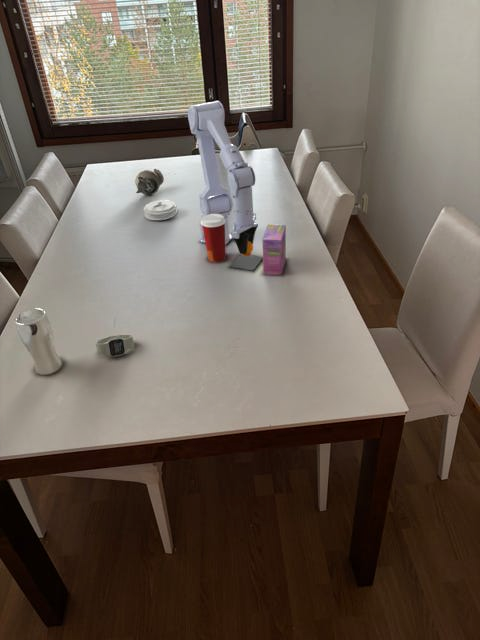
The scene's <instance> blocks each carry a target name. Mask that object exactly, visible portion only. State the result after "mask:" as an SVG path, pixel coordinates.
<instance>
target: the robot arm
mask: <svg viewBox="0 0 480 640" xmlns="http://www.w3.org/2000/svg"><path fill="white" fill-rule="evenodd" d="M225 116H226V113H225V108H224V105H223V104H222V103H221V101H220V100H215V101H211V102H205V103H199V104H194V105H193V104H191V105H190V106H189V107H188V111H187V119H188V124H189V129H190V133H191V134H192V135H194V136H195V137H196V140H197V146H198V152H199V157H200V163H201V167H202V173H203V177H204V183H205V188H204V189H203V190H202V192H200V193H199V209H200V212H201V214H202V215H201V216H200V219H199V230H200V239H201V240H200V243H205V238H204V232H203V227H202V225H201V223H200V222H201V221H202V218H203V217H204V216H206V215H209V214H220V215H222V216H223V217H224V219H225V220H226V222H225V246H226V245H227V244H228V243H229V242H230V241H231V240H233V241H234V242H235V244H236V247H237V250H238V252H239V254H246V253H247V244H248V241H250V242H251V243H252V245H253V244H254V240H255V234H256V231H257V229H258V227H259V224H258V222H257V221H256V220H257V213H256V212H255V213H254V203H253V201H254V200H253V199H254V198H253V187H254V186H255V185H256V174H255V170H254V168H253V167H252V166H251V165H250V164H249V163H248V162H246V161H245V160H244V158H243V156H242V154H241V152H240V149H239V148H238V146H237V145H235V144H233V143H232V141H231V138H230V136H229V134H228V131H227V128H226V125H225V121H226V120H225V119H226V118H225ZM214 141H215V143H216V145H217V146H218V148H219V149H220V151H219V158H220V160H221V161H222V164H223V166H224V168H225V171H226V173H227V183H228V185H229V189H228V188H227V187H225V186H223V185H222V184H221V177H220V172H219V166H218V161H217V155H216V150H215V144H214ZM229 190H230V191H229ZM231 195H232V197H231ZM232 210H233V218H234V219H233V220H234V222H233V228H232V231H231V233H230V225H229V224H230V223H229V216H230V213H231V212H232ZM253 246H254V245H253Z"/></svg>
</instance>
